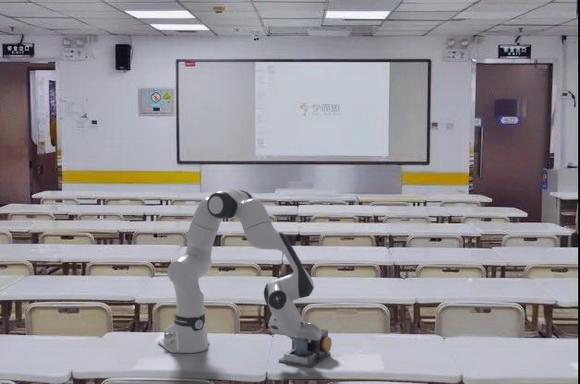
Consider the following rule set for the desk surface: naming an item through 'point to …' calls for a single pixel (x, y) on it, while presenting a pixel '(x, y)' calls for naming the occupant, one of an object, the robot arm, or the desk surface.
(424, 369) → the desk surface
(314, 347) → the gray recessed holder
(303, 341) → the bottle
